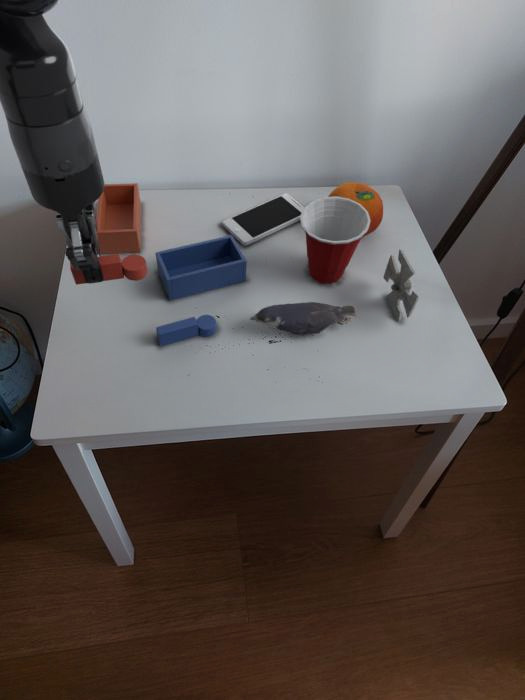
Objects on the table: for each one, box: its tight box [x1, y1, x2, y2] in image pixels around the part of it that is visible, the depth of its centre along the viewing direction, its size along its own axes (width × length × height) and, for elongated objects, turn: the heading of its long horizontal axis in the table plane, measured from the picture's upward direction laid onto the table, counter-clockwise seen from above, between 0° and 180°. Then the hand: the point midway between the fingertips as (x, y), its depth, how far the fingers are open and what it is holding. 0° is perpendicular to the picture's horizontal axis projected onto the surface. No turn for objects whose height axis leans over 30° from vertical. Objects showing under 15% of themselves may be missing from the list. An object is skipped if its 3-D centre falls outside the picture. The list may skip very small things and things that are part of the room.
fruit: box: [327, 181, 384, 238], centre depth 92 cm, size 11×10×8 cm
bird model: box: [249, 301, 358, 336], centre depth 78 cm, size 4×17×5 cm, turn 98°
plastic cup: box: [300, 196, 371, 285], centre depth 83 cm, size 11×11×12 cm
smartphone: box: [221, 192, 305, 247], centre depth 95 cm, size 7×16×1 cm, turn 128°
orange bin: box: [96, 182, 142, 255], centre depth 90 cm, size 13×7×5 cm, turn 8°
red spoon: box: [69, 253, 148, 285], centre depth 65 cm, size 9×3×3 cm, turn 104°
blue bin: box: [155, 234, 247, 301], centre depth 84 cm, size 13×7×5 cm, turn 113°
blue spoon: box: [155, 314, 217, 347], centre depth 77 cm, size 9×3×3 cm, turn 113°
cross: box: [383, 248, 420, 322], centre depth 80 cm, size 10×3×10 cm, turn 13°
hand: (94, 274), depth 65 cm, fingers closed on red spoon, 1 cm apart
